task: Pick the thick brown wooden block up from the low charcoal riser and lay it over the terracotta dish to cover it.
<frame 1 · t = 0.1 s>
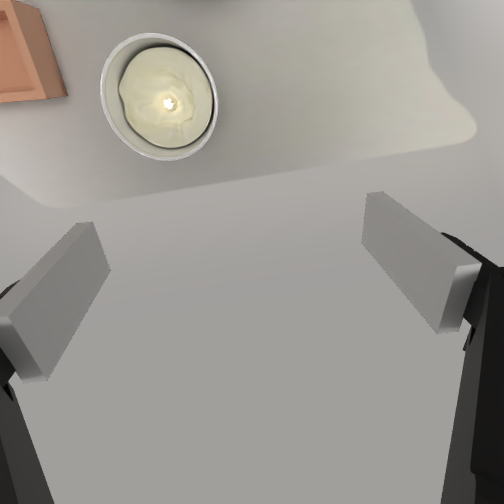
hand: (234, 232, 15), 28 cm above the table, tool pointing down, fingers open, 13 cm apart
candle holder: (178, 95, 37), on the table
dish: (2, 59, 34), on the table
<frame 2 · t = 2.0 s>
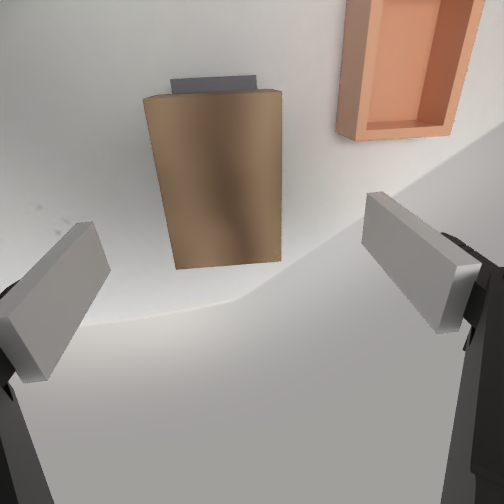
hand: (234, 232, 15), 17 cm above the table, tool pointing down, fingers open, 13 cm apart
riser: (222, 165, 30), on the table
brown wooden block: (222, 173, 28), point 3 cm above the table, touching riser
dish: (386, 62, 27), on the table
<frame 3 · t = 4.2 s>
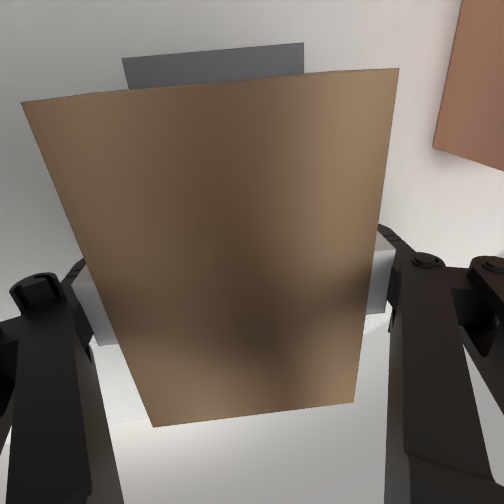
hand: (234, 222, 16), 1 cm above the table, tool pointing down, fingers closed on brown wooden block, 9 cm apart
riser: (233, 211, 18), on the table
brown wooden block: (235, 235, 15), point 3 cm above the table, touching gripper, riser
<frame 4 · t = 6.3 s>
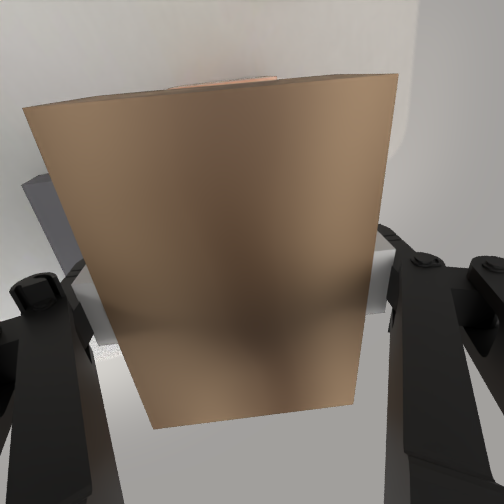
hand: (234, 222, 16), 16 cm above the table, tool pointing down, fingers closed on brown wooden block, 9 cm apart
riser: (101, 240, 33), on the table
brown wooden block: (235, 237, 15), point 17 cm above the table, touching gripper
dish: (230, 146, 30), on the table
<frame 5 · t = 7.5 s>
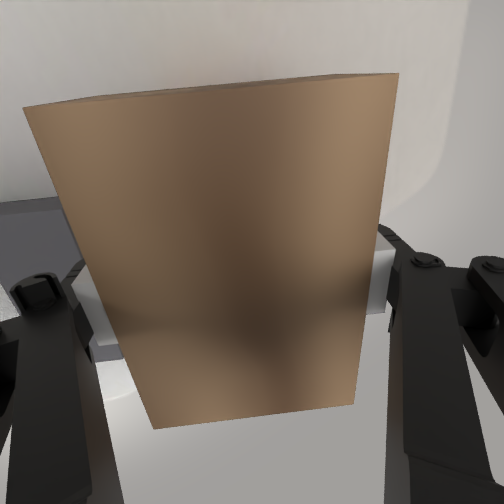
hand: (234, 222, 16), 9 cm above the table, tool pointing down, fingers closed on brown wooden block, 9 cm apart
riser: (70, 278, 28), on the table
brown wooden block: (235, 237, 15), point 11 cm above the table, touching gripper
when the fingers open (6 cm above the table, at t = 8.6 s): brown wooden block drops 2 cm, resting on dish.
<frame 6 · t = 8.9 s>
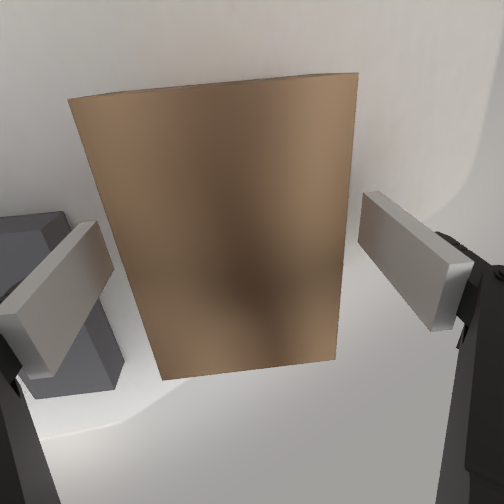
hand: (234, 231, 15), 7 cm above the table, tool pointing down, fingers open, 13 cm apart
riser: (56, 302, 25), on the table
brown wooden block: (233, 216, 17), point 5 cm above the table, touching dish
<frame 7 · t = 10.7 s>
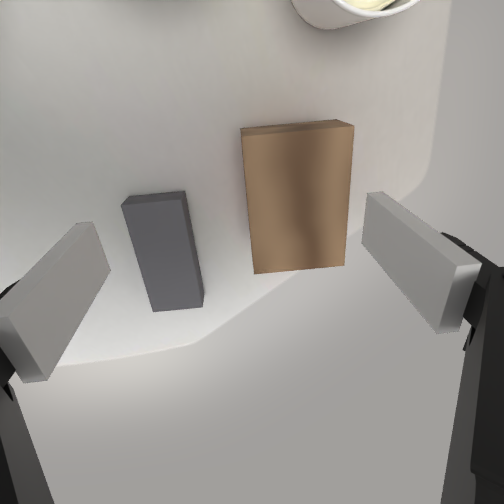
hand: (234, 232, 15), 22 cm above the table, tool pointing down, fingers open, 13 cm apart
riser: (170, 249, 40), on the table
brown wooden block: (289, 191, 32), point 5 cm above the table, touching dish
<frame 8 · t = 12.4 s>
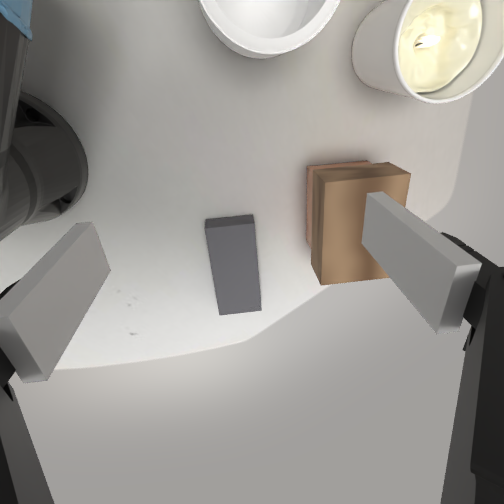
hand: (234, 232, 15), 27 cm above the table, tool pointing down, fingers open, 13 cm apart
riser: (234, 262, 47), on the table
candle holder: (386, 47, 35), on the table
jar: (251, 2, 32), on the table
brown wooden block: (346, 217, 39), point 5 cm above the table, touching dish
dish: (334, 202, 44), on the table
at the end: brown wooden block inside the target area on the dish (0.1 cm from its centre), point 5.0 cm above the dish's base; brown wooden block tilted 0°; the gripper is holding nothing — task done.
